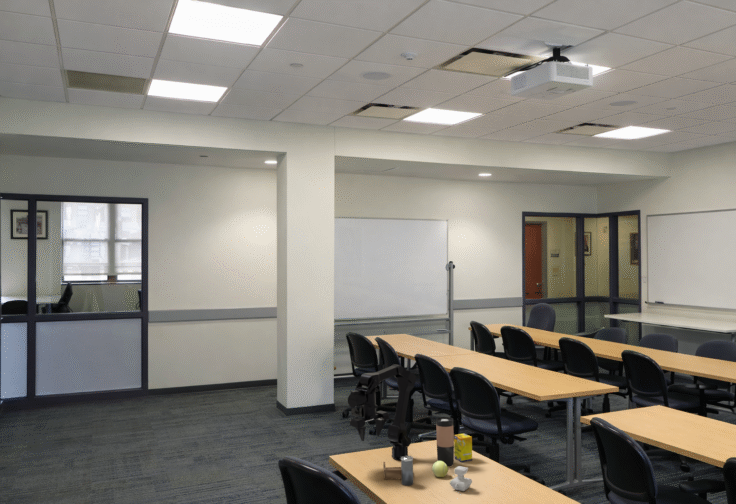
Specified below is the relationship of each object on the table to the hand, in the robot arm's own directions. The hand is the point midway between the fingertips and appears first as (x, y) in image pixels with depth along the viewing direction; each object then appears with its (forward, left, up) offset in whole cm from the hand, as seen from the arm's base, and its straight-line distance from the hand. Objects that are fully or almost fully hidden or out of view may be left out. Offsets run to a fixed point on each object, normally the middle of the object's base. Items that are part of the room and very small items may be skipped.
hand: (370, 438), depth 261 cm
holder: (-7, +11, -13) cm, 19 cm away
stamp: (-24, +36, -13) cm, 46 cm away
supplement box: (-42, +6, -13) cm, 45 cm away
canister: (-7, +22, -13) cm, 27 cm away
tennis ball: (-23, +20, -13) cm, 34 cm away
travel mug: (-32, +8, -13) cm, 36 cm away
